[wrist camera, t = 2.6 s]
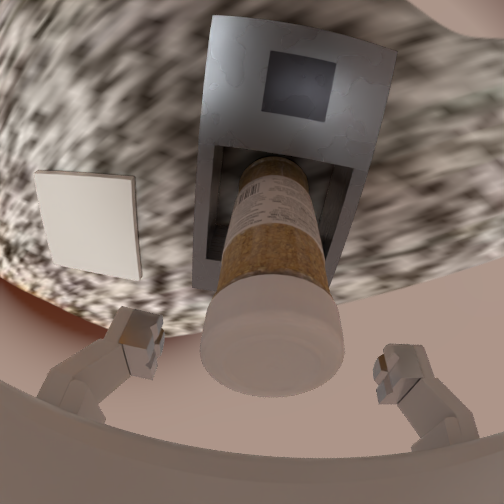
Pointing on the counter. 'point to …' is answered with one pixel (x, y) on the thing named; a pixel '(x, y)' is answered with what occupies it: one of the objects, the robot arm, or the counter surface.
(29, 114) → the counter surface
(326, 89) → the grey open box
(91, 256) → the plate
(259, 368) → the sprinkles bottle
